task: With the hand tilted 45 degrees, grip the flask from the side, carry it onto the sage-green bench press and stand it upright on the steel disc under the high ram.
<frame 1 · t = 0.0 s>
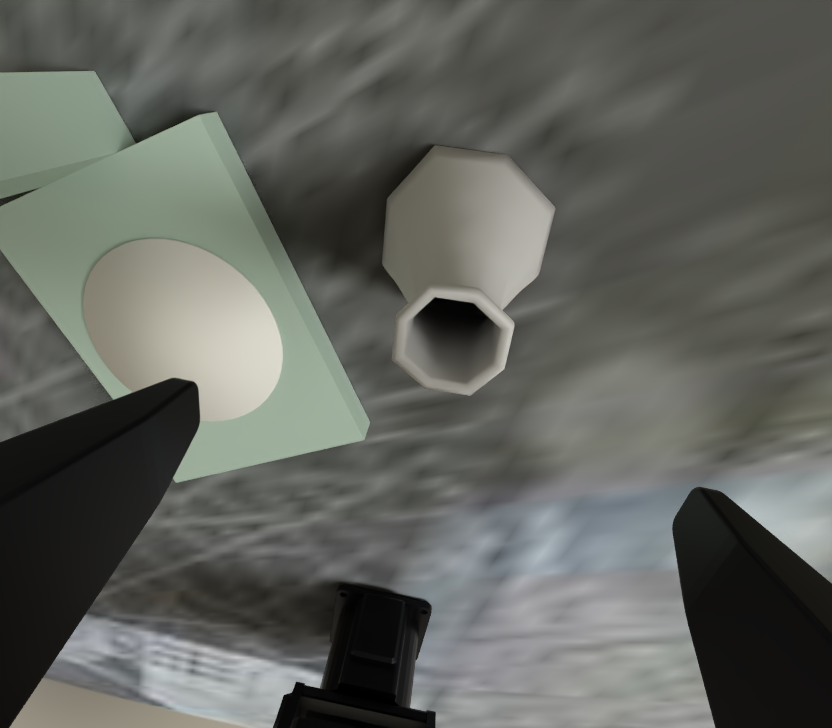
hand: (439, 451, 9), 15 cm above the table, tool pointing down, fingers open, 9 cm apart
bench press: (200, 323, 26), on the table
flask: (464, 233, 22), on the table
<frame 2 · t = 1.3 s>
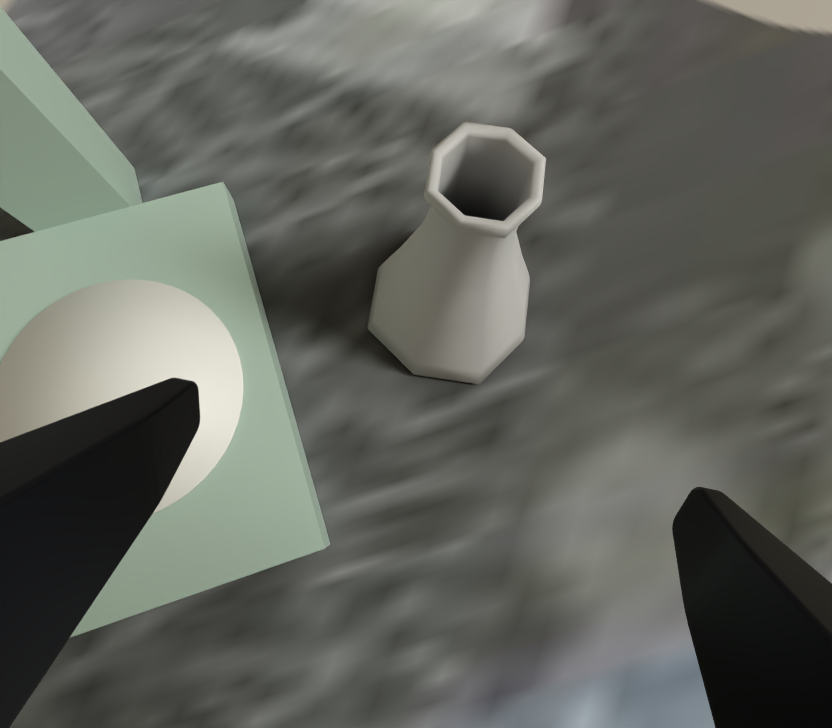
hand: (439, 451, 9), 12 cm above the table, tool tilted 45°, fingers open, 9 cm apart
bench press: (138, 401, 22), on the table
flask: (449, 307, 23), on the table
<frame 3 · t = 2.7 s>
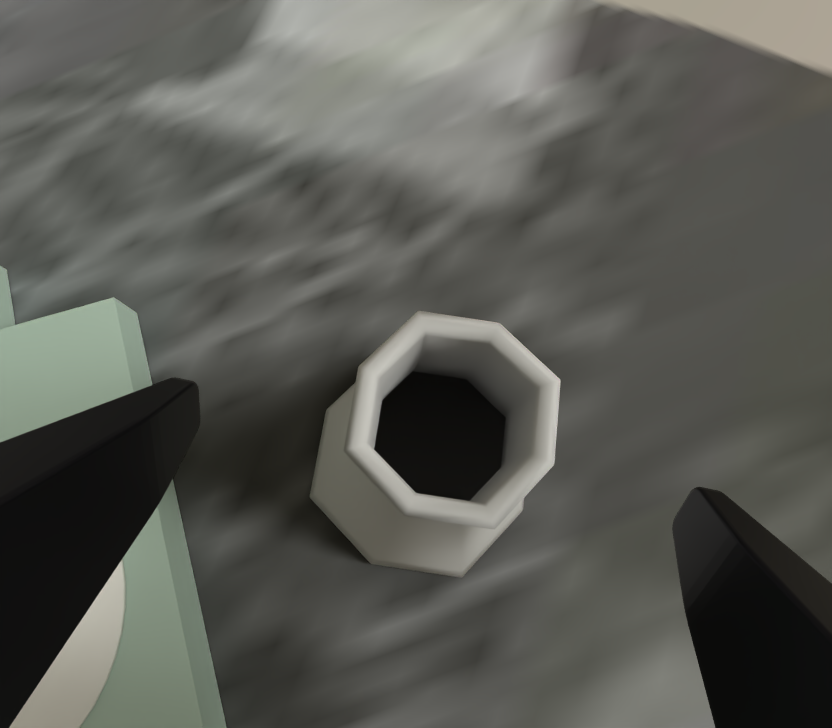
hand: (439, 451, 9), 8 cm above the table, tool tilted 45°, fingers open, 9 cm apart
flask: (422, 460, 17), on the table
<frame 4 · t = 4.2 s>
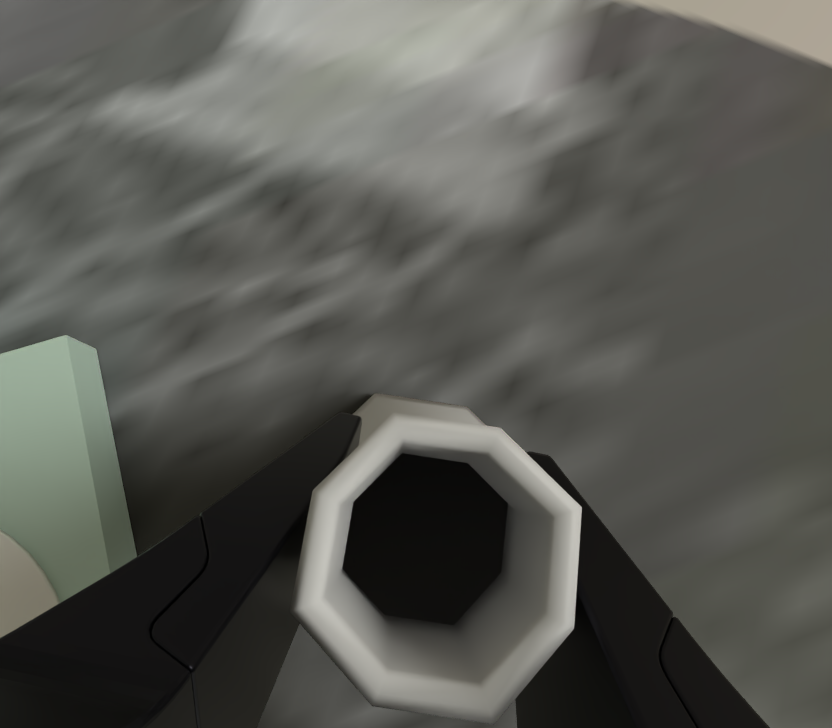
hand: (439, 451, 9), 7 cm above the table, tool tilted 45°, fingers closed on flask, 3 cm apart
flask: (413, 515, 15), on the table, touching gripper
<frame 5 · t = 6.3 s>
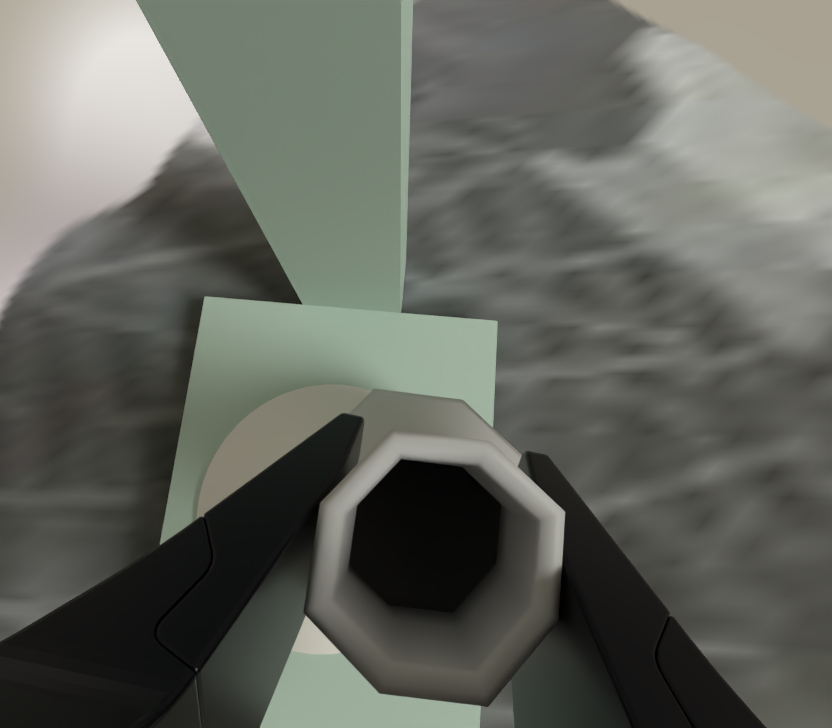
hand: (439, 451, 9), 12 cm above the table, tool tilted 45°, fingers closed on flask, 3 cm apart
bench press: (333, 509, 21), on the table
flask: (413, 504, 16), point 5 cm above the table, touching gripper
when the fingers open (9 cm above the table, at t = 7.6 s): flask stays where it is, resting on bench press.
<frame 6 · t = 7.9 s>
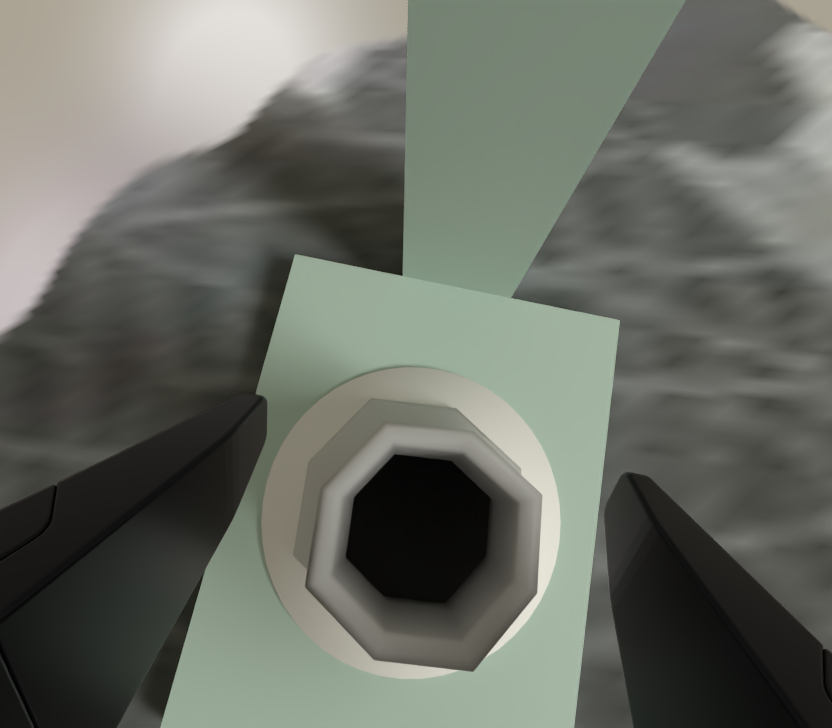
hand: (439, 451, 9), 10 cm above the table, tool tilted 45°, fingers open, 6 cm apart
bench press: (411, 510, 18), on the table
flask: (409, 510, 17), point 1 cm above the table, touching bench press
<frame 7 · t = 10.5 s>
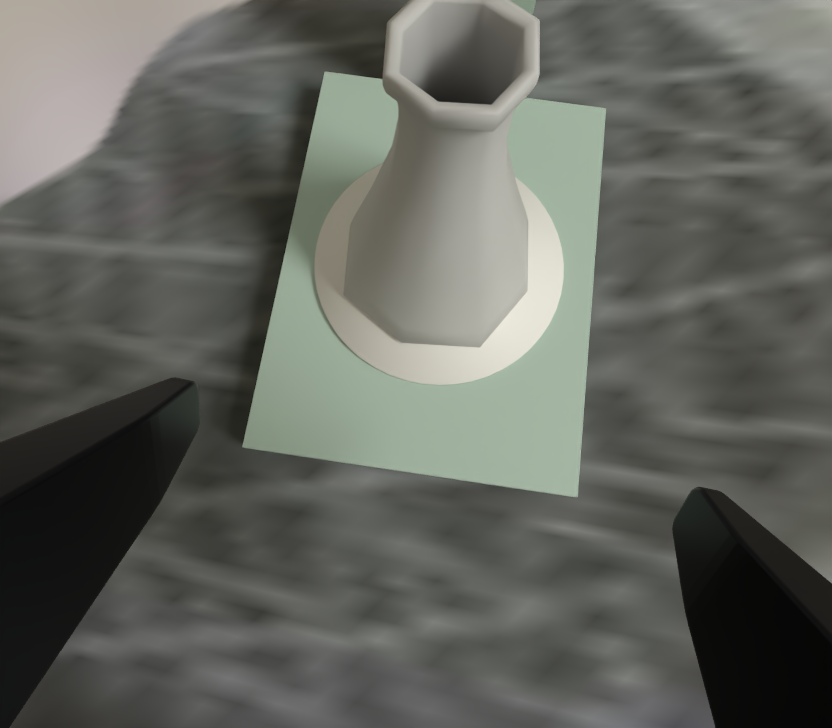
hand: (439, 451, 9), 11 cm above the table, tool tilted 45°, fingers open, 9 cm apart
bench press: (437, 278, 21), on the table
flask: (436, 262, 20), point 1 cm above the table, touching bench press
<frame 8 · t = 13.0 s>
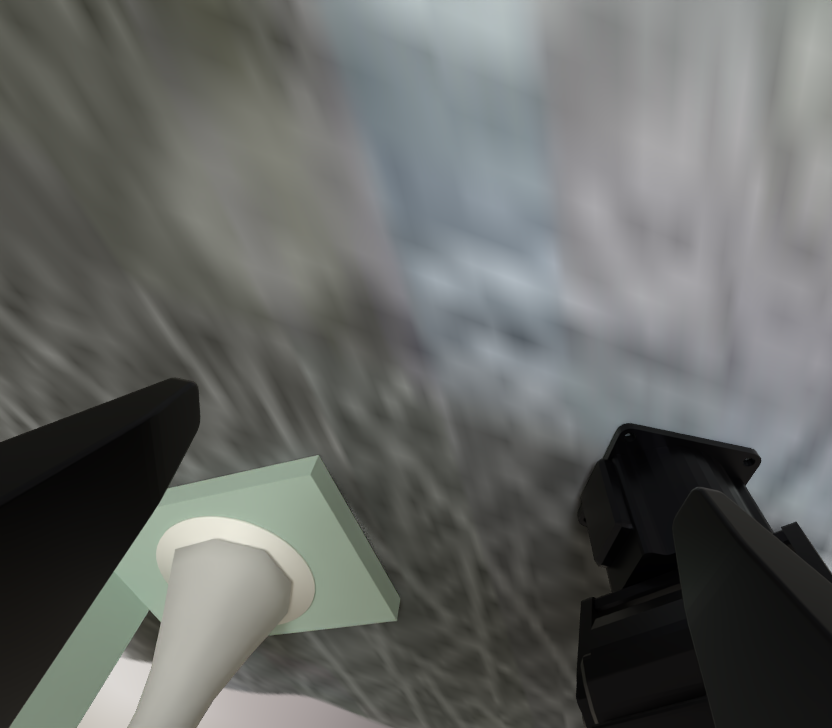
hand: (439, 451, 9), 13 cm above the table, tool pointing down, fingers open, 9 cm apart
bench press: (246, 553, 32), on the table
flask: (236, 574, 31), point 1 cm above the table, touching bench press
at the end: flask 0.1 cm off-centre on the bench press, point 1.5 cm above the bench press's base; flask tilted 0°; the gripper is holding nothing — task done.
